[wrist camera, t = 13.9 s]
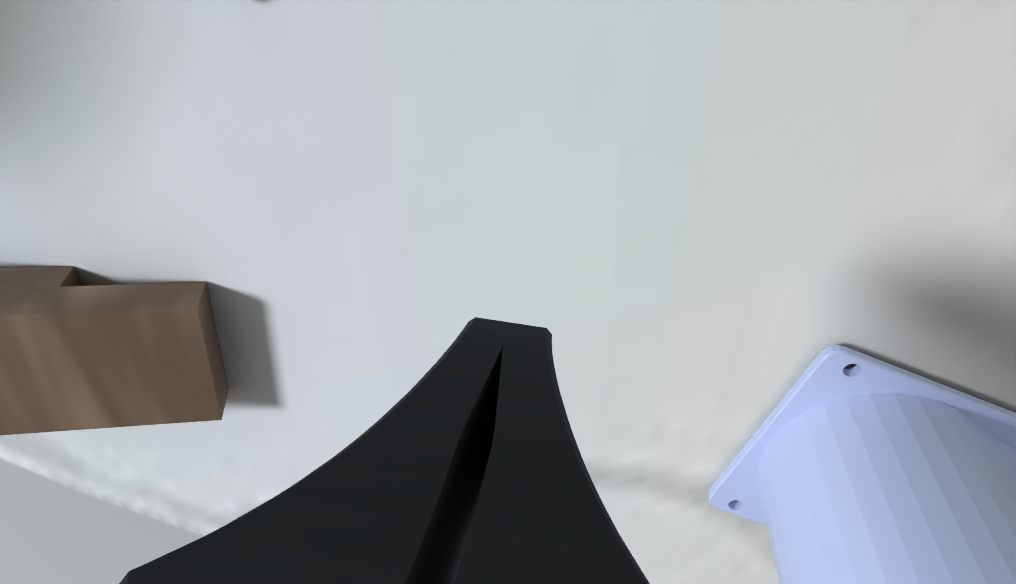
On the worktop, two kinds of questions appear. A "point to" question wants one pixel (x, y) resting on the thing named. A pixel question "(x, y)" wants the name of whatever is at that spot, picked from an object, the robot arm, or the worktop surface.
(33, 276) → the domino
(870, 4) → the worktop surface
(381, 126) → the worktop surface
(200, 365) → the domino
